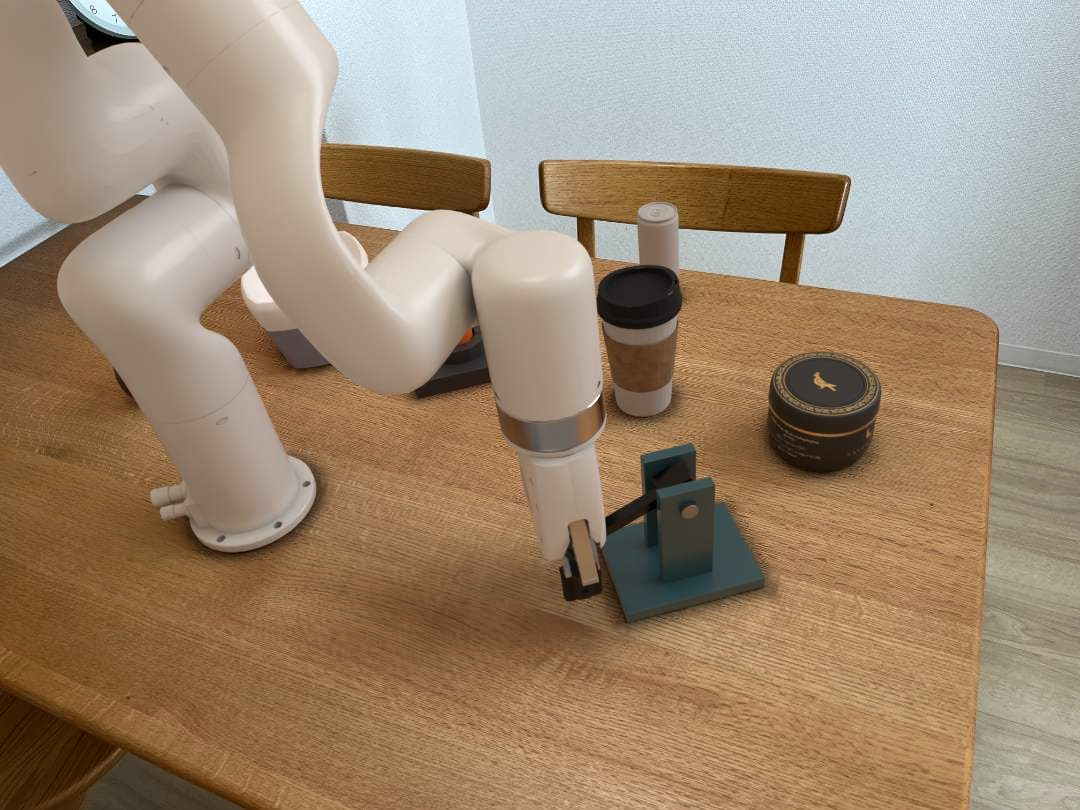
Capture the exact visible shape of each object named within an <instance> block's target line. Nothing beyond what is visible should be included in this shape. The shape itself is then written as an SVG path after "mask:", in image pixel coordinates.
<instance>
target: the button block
mask: <svg viewBox="0 0 1080 810" xmlns="http://www.w3.org/2000/svg"><path fill="white" fill-rule="evenodd" d="M471 329H472V333H473V336H472V339H471V340H470V341H468V342H466V343H465V344H461V345H457V346H456V347H455V348H454V350H453V351H452V353H451V354H450V355H449V357H448V358H447V359H446V360H445V362H444V363H443V364H442V366H441V367H440V368H439V369H438V371H437V372H436V373H435V374H434V375H433V376H432V377H431V378H430V380H429V381H427V382H426V383H425V384H424V385H422V386H421V387H419V388H417V389H416V390H415V393H416V395H417V399H423V398H426V397H430V396H435V395H439V394H443V393H447V392H452V391H456V390H461V389H465V388H468V387H474V386H477V385H483V384H487V383H490V382H491V378H490V373H489V368H488V364H487V359H486V354H485V349H484V344H483V339H482V334H481V329H480V326H475V327H473V328H471Z"/></svg>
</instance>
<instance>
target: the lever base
mask: <svg viewBox="0 0 1080 810" xmlns="http://www.w3.org/2000/svg"><path fill="white" fill-rule="evenodd" d="M639 456H640V474H641V493H642V495H644V494H645V493H647V492H649V491H651V490H652V489H654V488H656V486H655V484H654V482H653V479H652V476H654V475H656V474H658V473H659V472H661V471H663V470H664V469H666V468H668V467H669V466H671V465H673V464H674V463H676V462H678V461H680V460H682V461H683V462H684V463H685V465H686V466H687V467H688V469H689V470H690V472H691V473H692V474H693V476H694V478H695V480H694V481H690V482H686V483H682V484H678V485H674V486H670V487H666V488H662V489H658V490H656V495H657V508H655V509H653V510H652V511H650V512H648V513H647V514H645V515H643V521H642V522H638V523H634V524H630V525H626V526H624V527H622V528H621V529H619V530H617V531H615V532H614V533H612V534H610V535H609V536H607V537H606V542H605V544H604V546H603V547H602V548H601V549H600V550H601V553H602V556H603V558H604V561H605V564H606V567H607V570H608V572H609V576H610V578H611V581H612V584H613V587H614V589H615V592H616V594H617V597H618V600H619V603H620V607H621V609H622V612H623V614H624V617H625V619H626V623H628V624H629V623H633V622H636V621H640V620H644V619H647V618H653V617H655V616H659V615H664V614H667V613H670V612H674V611H678V610H681V609H686V608H690V607H693V606H697V605H701V604H704V603H708V602H711V601H716V600H720V599H724V598H727V597H731V596H736V595H738V594H743V593H746V592H747V593H748V592H750V591H755V590H757V589H762V588H765V583H766V577H765V576H764V574H763V572H762V570H761V568H760V566H759V564H758V562H757V561H756V559H755V557H754V555H753V553H752V551H751V549H750V548H749V546H748V544H747V542H746V541H745V539H744V537H743V535H742V533H741V531H740V529H739V528H738V526H737V523H736V522H735V520H734V519H733V517H732V514H731V513H730V511H729V509H728V507H727V505H726V504H725V502H724V501H721V502H717V503H716V484H715V482H714V479H713V478H712V476H707V477H702V478H698V479H697V449H696V446H695V445H694V443H693V442H689V443H685V444H680V445H676V446H672V447H667V448H664V449H660V450H656V451H652V452H648V453H644V454H641V455H639ZM642 495H641V496H642Z"/></svg>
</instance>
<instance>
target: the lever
mask: <svg viewBox="0 0 1080 810" xmlns="http://www.w3.org/2000/svg"><path fill="white" fill-rule="evenodd" d="M652 479H653V482H654V484H655V486H656V488H654V489H652V490H651V491H649V492H647V493H645V494H644V495H640V496H639V497H637V498H635V499H633V500H632V501H630V502H629V503H627V504H625V505H623V506H622V507H620V508H618V509H616V510H615V511H613V512H611V513H610V514H608V515H605V524H606V537H607V536H609V535H610V534H612V533H614V532H615V531H617V530H619V529H621V528H622V527H626V526H629V524H631V523H633V522H634V521H636V520H638V519H640V518H641V517H644V515H645V514H647V513H648V512H650V511H652V510H653V509H655V508H657V495H656V490H658V489H662V488H666V487H670V486H674V485H678V484H682V483H686V482H690V481H694V480H695V478H694V476H693V474H692V473H691V472H690V470H689V469H688V467H687V466H686V465H685V463H684V462H683V461H682V460H680V461H678V462H676V463H674V464H673V465H671V466H669V467H668V468H666V469H664V470H663V471H661V472H659V473H658V474H656V475H654V476H652ZM569 536H570V535H569ZM568 556H569V560H572V559H575V554H574V550H572V551H568Z"/></svg>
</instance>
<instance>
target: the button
mask: <svg viewBox="0 0 1080 810" xmlns="http://www.w3.org/2000/svg"><path fill="white" fill-rule="evenodd" d="M472 336H473V333H472V329H469V330H468V331H467V332H466V333H465V335H464V336H463V337H462V339H461V340H460V341H459V343H458V344H457V345H461V344H465V343H466V342H468V341H470V340H471V339H472Z"/></svg>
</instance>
